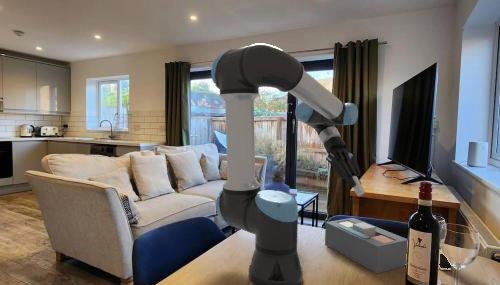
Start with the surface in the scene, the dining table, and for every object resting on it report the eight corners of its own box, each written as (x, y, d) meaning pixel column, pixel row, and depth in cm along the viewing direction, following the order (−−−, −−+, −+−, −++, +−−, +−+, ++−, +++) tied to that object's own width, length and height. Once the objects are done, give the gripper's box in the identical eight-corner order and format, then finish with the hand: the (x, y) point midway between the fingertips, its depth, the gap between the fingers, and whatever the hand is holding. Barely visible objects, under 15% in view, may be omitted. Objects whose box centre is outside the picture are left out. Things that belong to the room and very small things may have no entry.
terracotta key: (394, 251, 91) (395, 240, 91) (382, 253, 89) (383, 243, 89) (381, 244, 96) (381, 235, 96) (369, 247, 94) (370, 237, 94)
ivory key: (357, 234, 105) (358, 225, 105) (346, 236, 103) (347, 227, 103) (347, 229, 109) (347, 221, 109) (336, 231, 107) (337, 222, 107)
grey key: (375, 236, 98) (375, 226, 98) (363, 238, 96) (364, 229, 96) (363, 231, 102) (363, 222, 102) (352, 233, 100) (352, 224, 100)
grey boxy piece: (407, 265, 92) (408, 238, 91) (376, 273, 86) (377, 245, 86) (352, 238, 113) (353, 216, 112) (324, 244, 107) (325, 221, 107)
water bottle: (292, 234, 117) (293, 170, 115) (281, 241, 109) (283, 173, 107) (271, 229, 121) (272, 168, 120) (259, 236, 114) (260, 171, 112)
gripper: (340, 146, 122) (369, 197, 109) (314, 147, 117) (340, 201, 103) (350, 134, 117) (381, 186, 103) (323, 135, 111) (352, 190, 98)
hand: (361, 194), depth 103 cm, fingers closed
